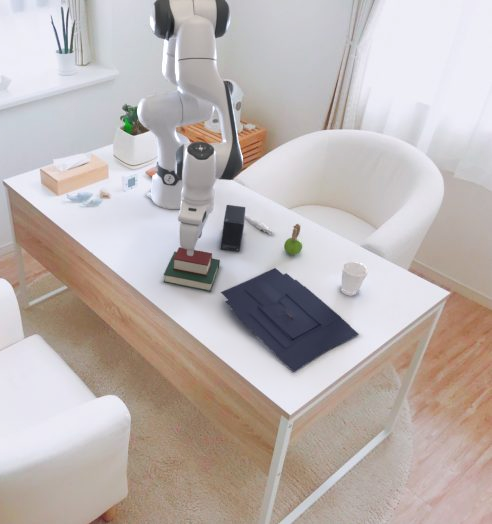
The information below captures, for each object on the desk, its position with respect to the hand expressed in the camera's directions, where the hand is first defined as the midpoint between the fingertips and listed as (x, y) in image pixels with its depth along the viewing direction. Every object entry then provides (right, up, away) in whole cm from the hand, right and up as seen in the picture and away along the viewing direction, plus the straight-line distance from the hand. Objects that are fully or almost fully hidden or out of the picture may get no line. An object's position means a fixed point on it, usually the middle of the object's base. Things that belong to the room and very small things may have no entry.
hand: (194, 245), depth 164 cm
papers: (+23, -21, -9) cm, 32 cm away
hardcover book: (0, -9, +7) cm, 11 cm away
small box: (+14, +2, +21) cm, 25 cm away
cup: (+45, -12, +2) cm, 47 cm away
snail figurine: (+32, -2, +16) cm, 35 cm away
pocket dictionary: (0, -6, +5) cm, 8 cm away
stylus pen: (+23, +7, +29) cm, 38 cm away
